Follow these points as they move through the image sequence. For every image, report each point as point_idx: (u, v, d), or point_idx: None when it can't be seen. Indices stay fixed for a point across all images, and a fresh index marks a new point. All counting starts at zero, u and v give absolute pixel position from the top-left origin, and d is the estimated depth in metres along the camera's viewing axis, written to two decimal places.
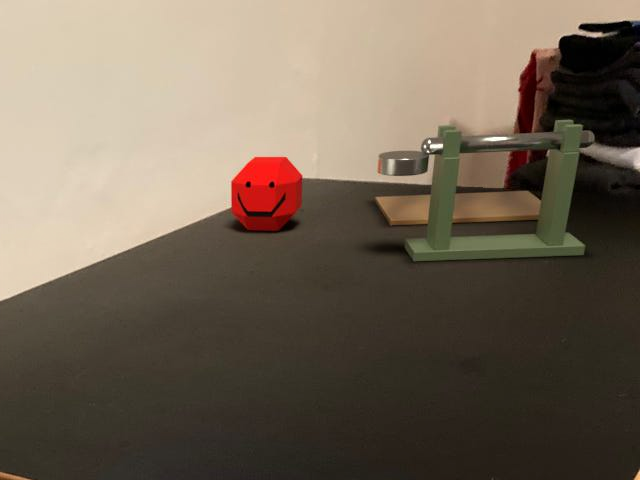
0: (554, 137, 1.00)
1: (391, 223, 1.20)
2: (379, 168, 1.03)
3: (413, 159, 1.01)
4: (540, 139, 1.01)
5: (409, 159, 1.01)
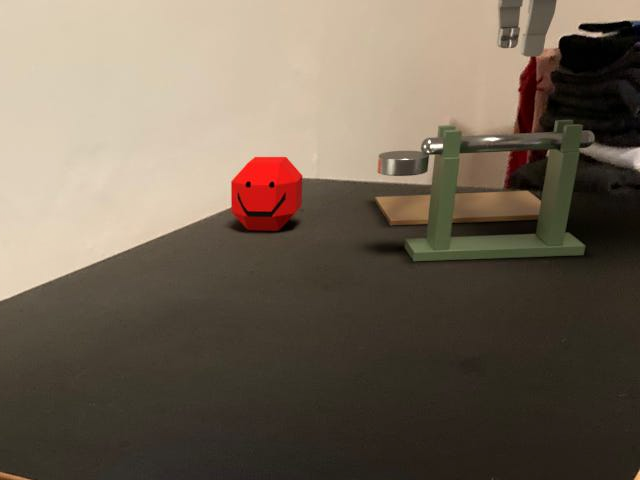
0: (554, 137, 1.00)
1: (391, 223, 1.20)
2: (379, 168, 1.03)
3: (413, 159, 1.01)
4: (540, 139, 1.01)
5: (409, 159, 1.01)
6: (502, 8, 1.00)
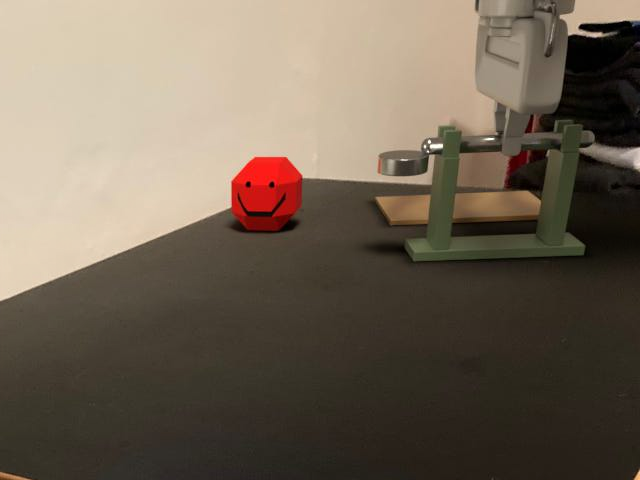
0: (554, 138, 1.00)
1: (391, 223, 1.20)
2: (379, 168, 1.03)
3: (413, 159, 1.01)
4: (540, 139, 1.01)
5: (409, 159, 1.01)
6: (497, 112, 1.02)
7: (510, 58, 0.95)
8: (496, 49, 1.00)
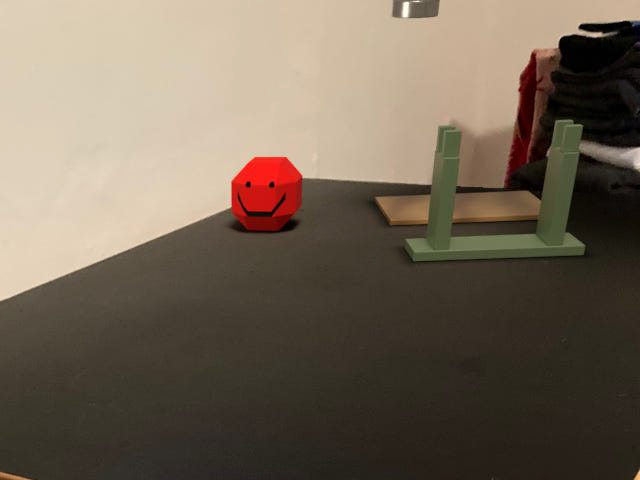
0: None
1: (391, 223, 1.20)
2: (393, 12, 1.11)
3: (425, 1, 1.08)
4: None
5: (422, 1, 1.08)
6: None
7: None
8: None
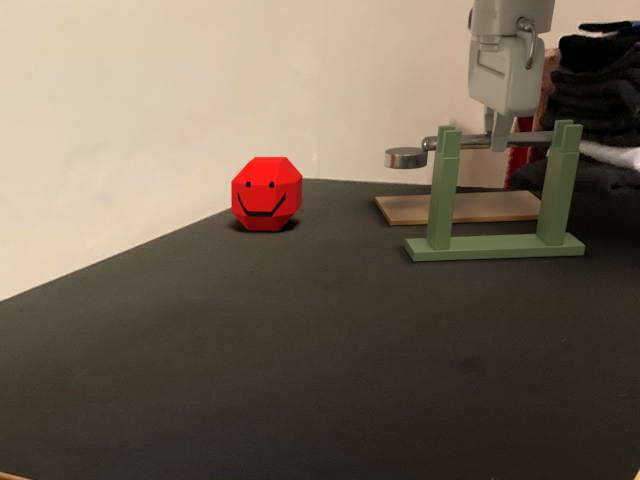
0: (534, 136, 1.18)
1: (391, 223, 1.20)
2: (385, 162, 1.20)
3: (415, 155, 1.18)
4: (522, 138, 1.18)
5: (411, 155, 1.18)
6: (486, 115, 1.20)
7: (497, 69, 1.13)
8: (486, 61, 1.17)
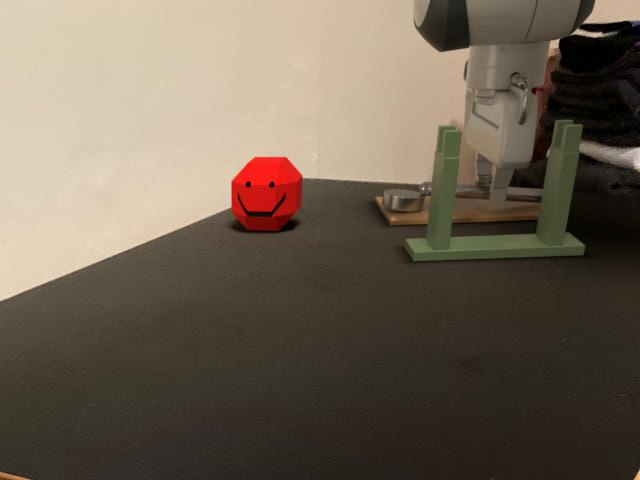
0: (528, 193, 1.22)
1: (391, 223, 1.20)
2: (383, 202, 1.23)
3: (412, 198, 1.21)
4: (516, 193, 1.22)
5: (409, 198, 1.21)
6: (478, 159, 1.25)
7: (492, 122, 1.16)
8: (481, 112, 1.20)
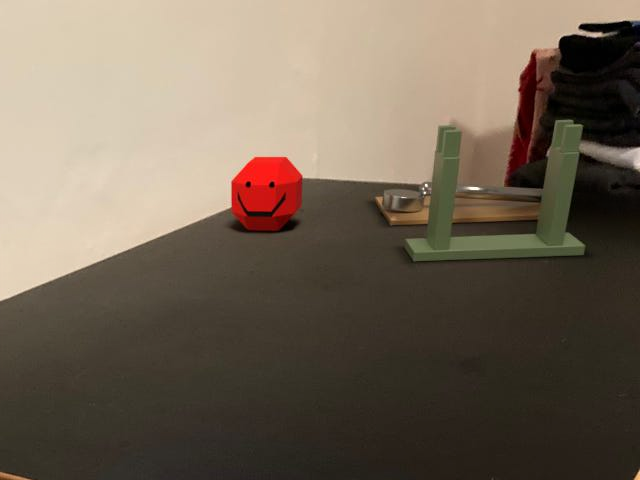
0: (528, 193, 1.22)
1: (391, 223, 1.20)
2: (383, 202, 1.23)
3: (412, 198, 1.21)
4: (516, 193, 1.22)
5: (409, 198, 1.21)
6: None
7: None
8: None
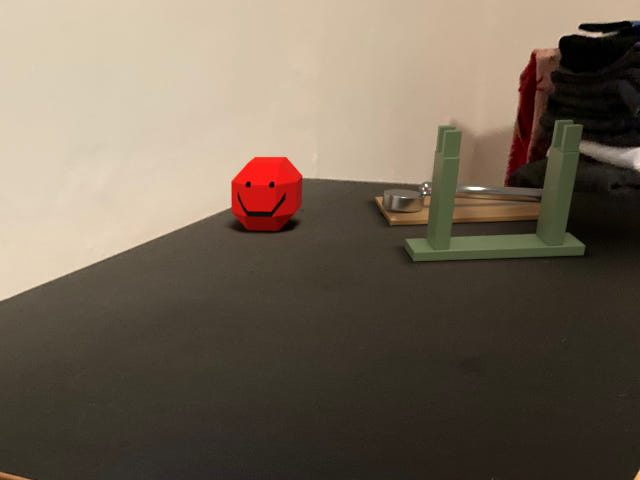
0: (528, 193, 1.22)
1: (391, 223, 1.20)
2: (383, 202, 1.23)
3: (412, 198, 1.21)
4: (516, 193, 1.22)
5: (409, 198, 1.21)
6: None
7: None
8: None
